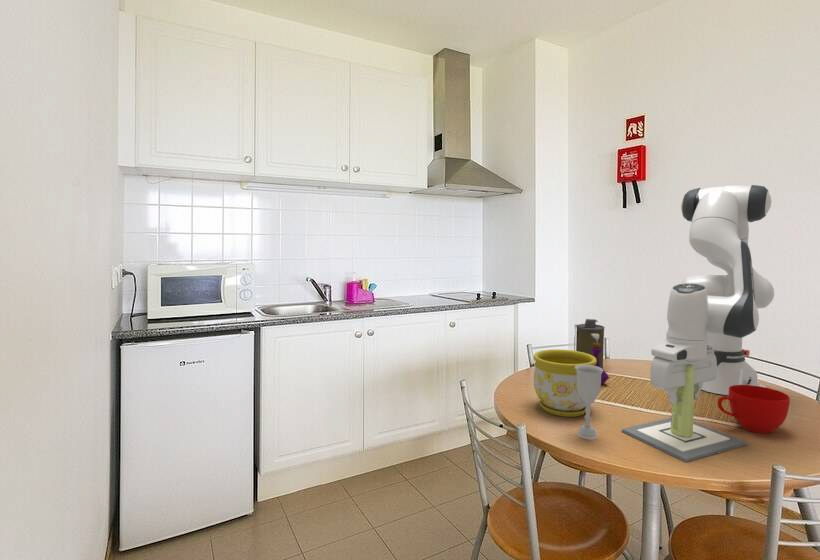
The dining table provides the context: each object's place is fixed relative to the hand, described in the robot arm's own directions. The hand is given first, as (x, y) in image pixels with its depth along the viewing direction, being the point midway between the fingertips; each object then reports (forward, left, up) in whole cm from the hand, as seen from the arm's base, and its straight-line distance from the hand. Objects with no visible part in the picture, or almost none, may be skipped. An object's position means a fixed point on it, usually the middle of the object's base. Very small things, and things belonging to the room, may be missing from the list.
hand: (683, 401), depth 114 cm
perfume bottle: (-13, -43, -10) cm, 46 cm away
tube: (0, 0, -9) cm, 9 cm away
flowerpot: (+14, -28, -10) cm, 33 cm away
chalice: (+21, -11, -10) cm, 26 cm away
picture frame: (0, 0, -10) cm, 10 cm away
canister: (-24, -57, -10) cm, 63 cm away
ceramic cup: (-22, +3, -10) cm, 24 cm away
